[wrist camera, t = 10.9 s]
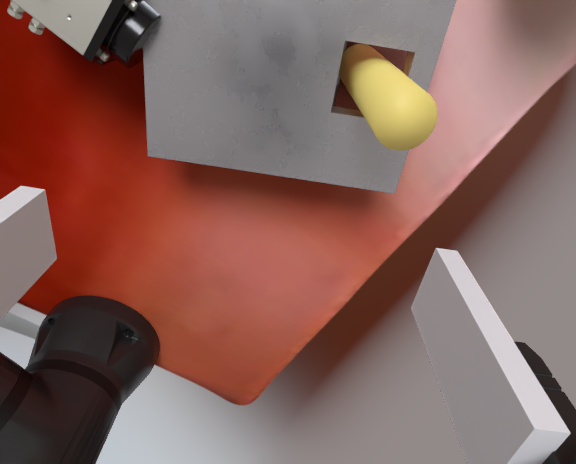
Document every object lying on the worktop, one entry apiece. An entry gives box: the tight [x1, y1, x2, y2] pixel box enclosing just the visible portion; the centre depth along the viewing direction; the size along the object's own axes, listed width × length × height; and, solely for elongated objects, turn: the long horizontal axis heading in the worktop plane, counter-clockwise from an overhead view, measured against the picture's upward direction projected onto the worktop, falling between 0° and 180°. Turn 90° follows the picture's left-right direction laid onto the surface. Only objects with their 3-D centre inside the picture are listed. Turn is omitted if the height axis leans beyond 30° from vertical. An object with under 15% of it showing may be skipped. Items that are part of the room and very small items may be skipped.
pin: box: [339, 44, 438, 151], centre depth 28 cm, size 4×4×14 cm
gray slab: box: [143, 0, 456, 194], centre depth 31 cm, size 16×20×8 cm
